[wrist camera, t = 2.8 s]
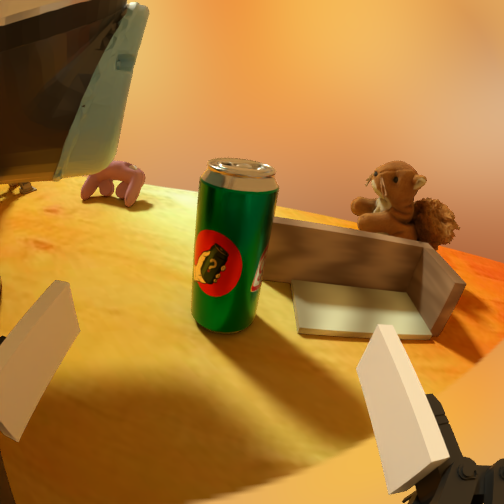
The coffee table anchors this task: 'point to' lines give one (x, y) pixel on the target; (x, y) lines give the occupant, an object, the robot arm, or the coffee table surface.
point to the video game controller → (116, 171)
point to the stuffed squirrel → (403, 207)
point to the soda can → (231, 242)
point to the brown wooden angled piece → (361, 280)
